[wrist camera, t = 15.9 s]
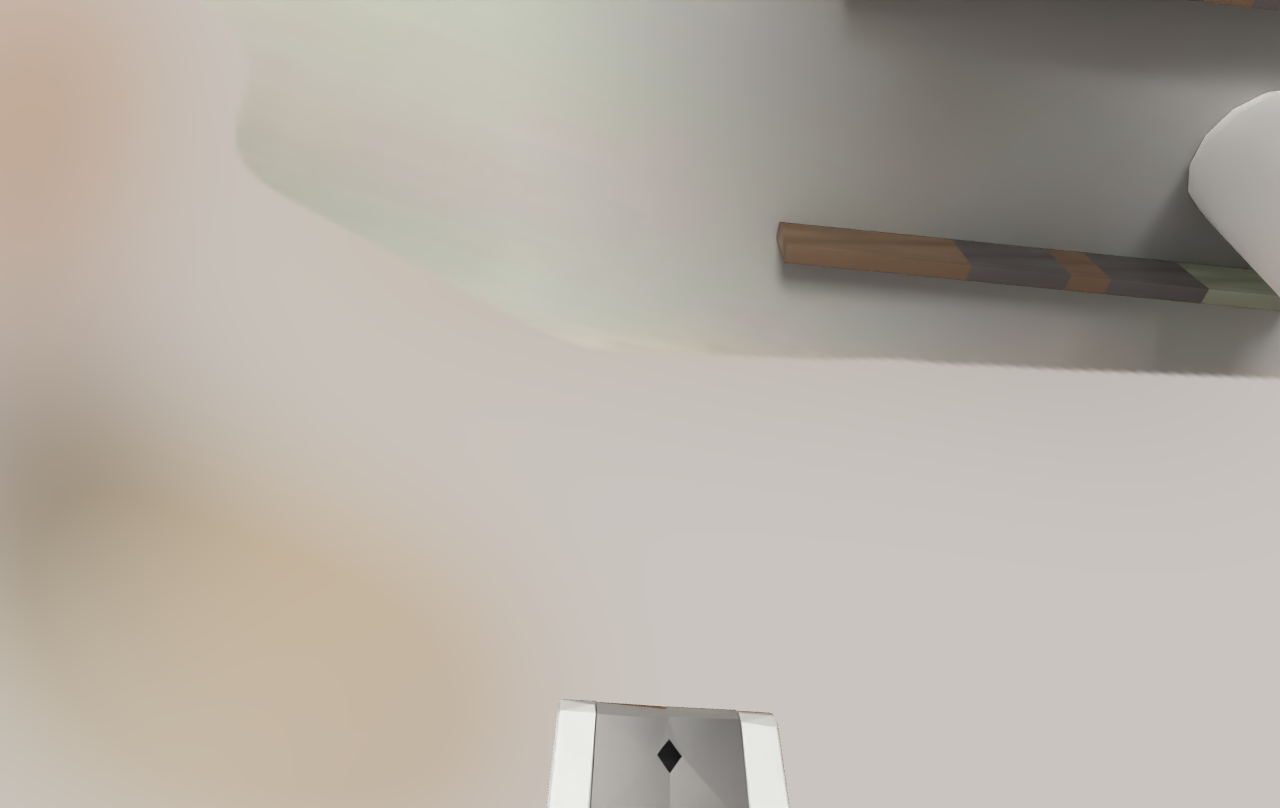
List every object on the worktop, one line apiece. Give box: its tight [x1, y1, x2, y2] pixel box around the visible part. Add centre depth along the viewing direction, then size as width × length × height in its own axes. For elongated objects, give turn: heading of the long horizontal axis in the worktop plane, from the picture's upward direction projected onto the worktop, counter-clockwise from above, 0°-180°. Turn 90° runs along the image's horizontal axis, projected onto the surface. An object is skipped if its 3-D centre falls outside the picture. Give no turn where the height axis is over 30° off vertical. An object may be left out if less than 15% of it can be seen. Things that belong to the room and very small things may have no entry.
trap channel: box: [776, 0, 1280, 311], centre depth 35 cm, size 14×28×3 cm, turn 84°
